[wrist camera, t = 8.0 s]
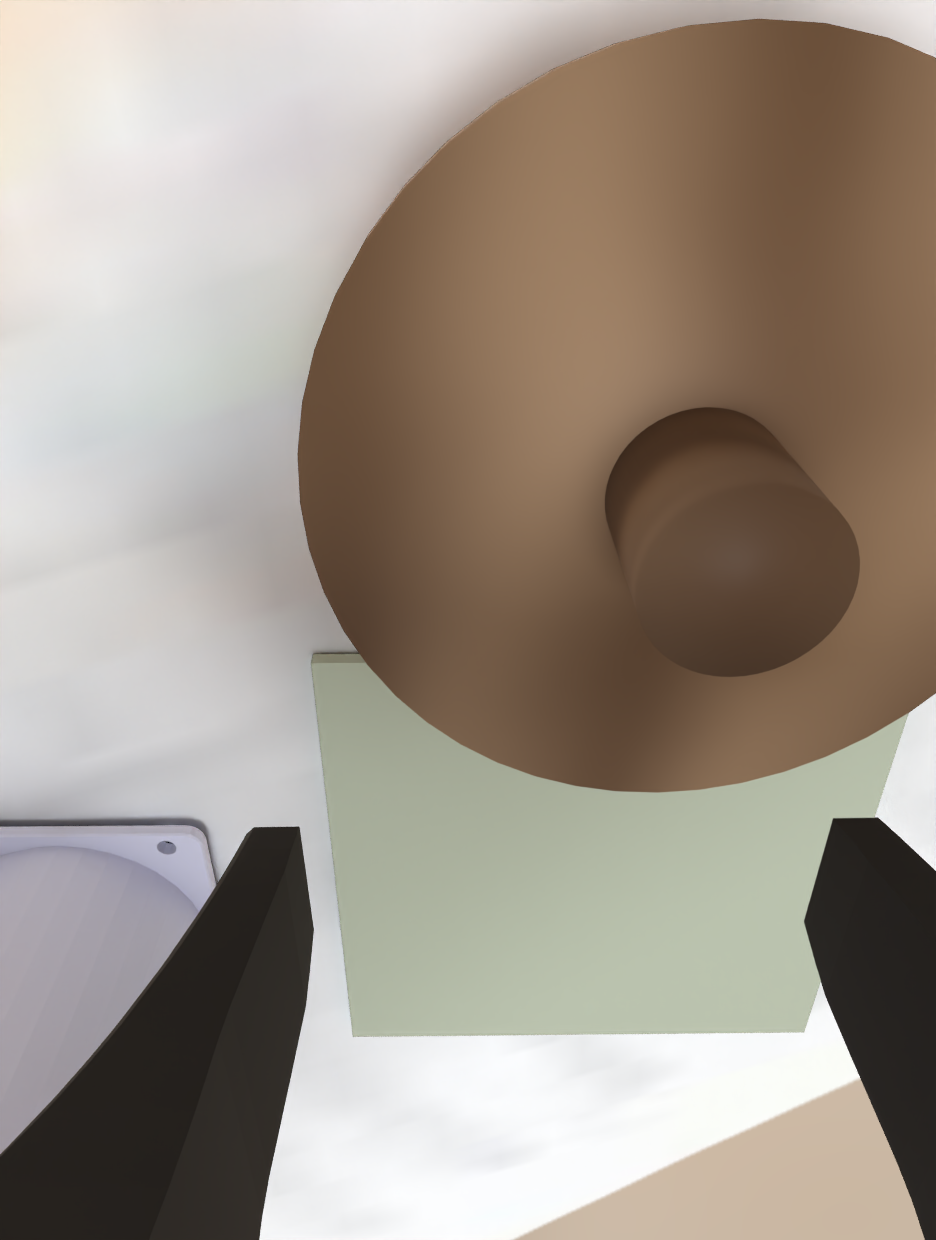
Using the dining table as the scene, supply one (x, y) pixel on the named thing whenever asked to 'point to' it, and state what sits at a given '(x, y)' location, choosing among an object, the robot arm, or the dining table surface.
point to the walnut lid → (647, 413)
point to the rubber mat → (567, 883)
